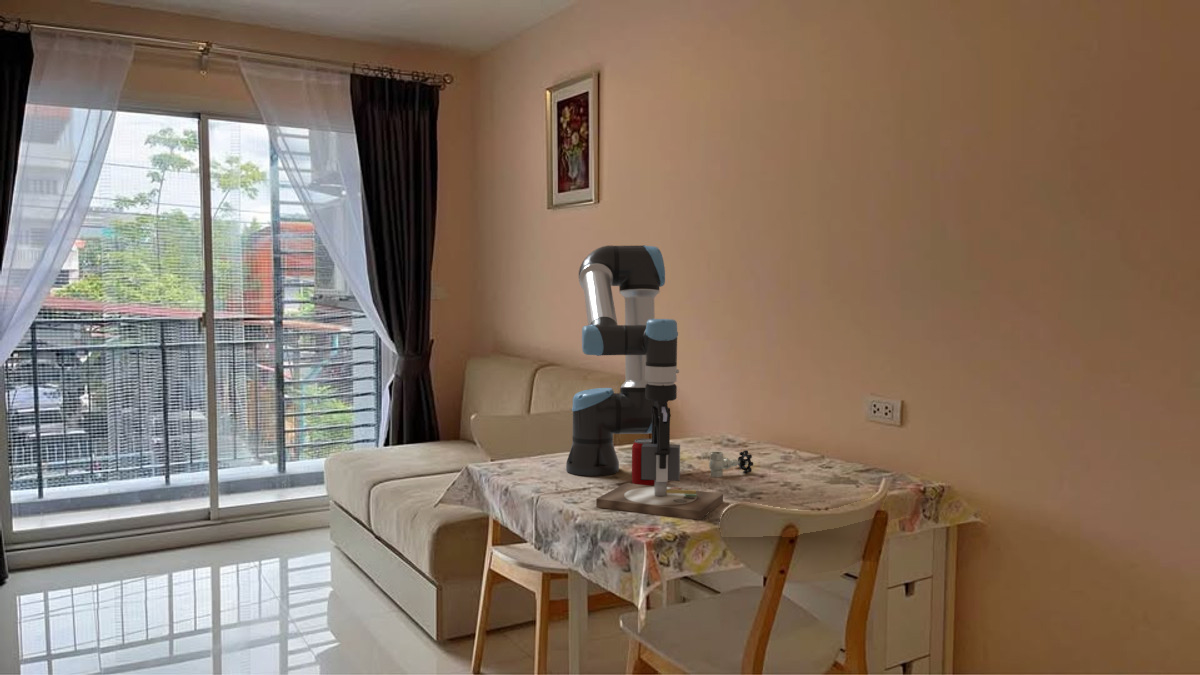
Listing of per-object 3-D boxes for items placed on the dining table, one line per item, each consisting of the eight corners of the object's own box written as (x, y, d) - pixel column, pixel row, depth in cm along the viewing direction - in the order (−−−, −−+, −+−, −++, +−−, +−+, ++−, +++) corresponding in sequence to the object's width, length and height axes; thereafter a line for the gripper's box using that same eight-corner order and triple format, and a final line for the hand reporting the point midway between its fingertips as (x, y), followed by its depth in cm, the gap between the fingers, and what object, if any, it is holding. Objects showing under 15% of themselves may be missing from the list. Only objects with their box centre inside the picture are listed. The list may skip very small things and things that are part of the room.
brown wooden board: (596, 506, 205) (596, 496, 204) (625, 490, 221) (625, 481, 221) (700, 519, 194) (700, 508, 194) (723, 501, 210) (723, 491, 210)
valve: (716, 479, 235) (753, 475, 239) (716, 455, 234) (753, 452, 239) (704, 474, 241) (740, 471, 246) (704, 451, 240) (741, 448, 245)
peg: (641, 495, 206) (641, 446, 205) (643, 491, 210) (643, 443, 209) (695, 498, 204) (695, 448, 203) (696, 494, 208) (696, 445, 207)
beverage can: (649, 489, 223) (649, 443, 222) (627, 485, 226) (627, 441, 225) (661, 484, 228) (662, 439, 228) (639, 481, 232) (639, 437, 231)
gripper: (683, 387, 197) (681, 487, 198) (670, 378, 215) (669, 470, 216) (650, 388, 196) (649, 488, 198) (640, 378, 214) (639, 470, 216)
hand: (660, 478), depth 207 cm, fingers closed on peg, 5 cm apart
